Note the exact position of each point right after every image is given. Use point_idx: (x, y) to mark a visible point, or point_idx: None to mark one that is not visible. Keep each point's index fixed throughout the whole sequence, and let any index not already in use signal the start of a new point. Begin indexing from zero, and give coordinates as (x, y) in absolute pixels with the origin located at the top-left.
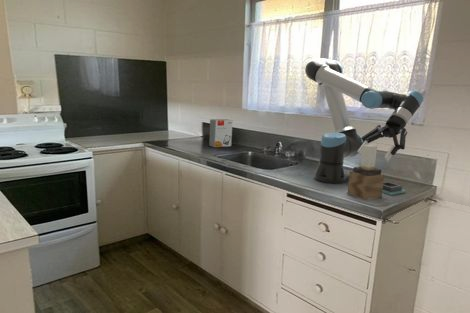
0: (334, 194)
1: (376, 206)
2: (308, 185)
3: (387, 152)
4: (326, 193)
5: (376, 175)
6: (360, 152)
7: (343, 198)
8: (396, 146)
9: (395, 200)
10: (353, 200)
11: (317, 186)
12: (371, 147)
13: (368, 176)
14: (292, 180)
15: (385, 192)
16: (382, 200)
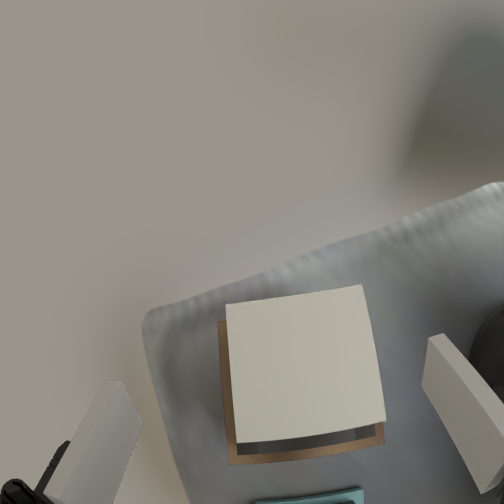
0: (337, 266)
1: (170, 327)
2: (451, 236)
3: (97, 420)
4: (354, 244)
5: (226, 396)
6: (430, 369)
7: (284, 270)
8: (30, 495)
9: (194, 461)
10: (252, 292)
11: (440, 261)
12: (229, 321)
13: (223, 327)
14: (500, 216)
15: (284, 500)
16: (212, 410)
